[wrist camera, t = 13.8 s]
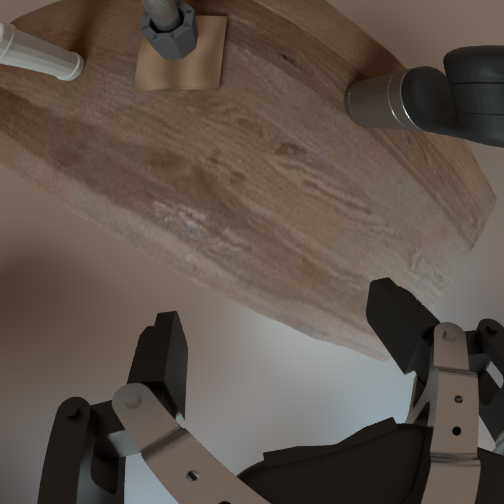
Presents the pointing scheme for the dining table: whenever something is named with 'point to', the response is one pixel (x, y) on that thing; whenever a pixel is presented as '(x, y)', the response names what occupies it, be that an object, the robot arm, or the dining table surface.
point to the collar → (173, 34)
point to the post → (190, 67)
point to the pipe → (37, 54)
